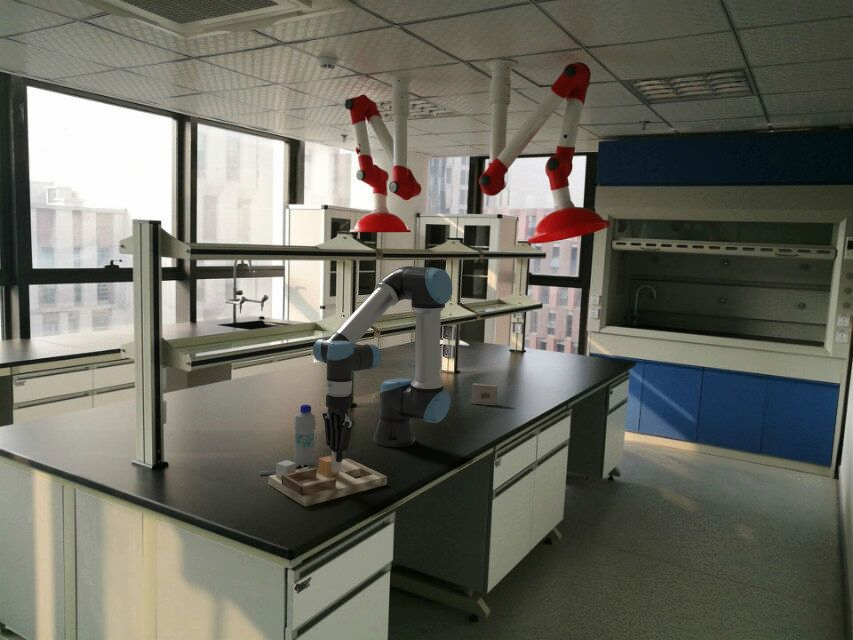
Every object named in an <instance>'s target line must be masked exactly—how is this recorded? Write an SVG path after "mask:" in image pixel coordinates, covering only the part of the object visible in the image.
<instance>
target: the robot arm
mask: <svg viewBox="0 0 853 640" xmlns="http://www.w3.org/2000/svg"><path fill="white" fill-rule="evenodd" d="M452 295H453V282H452V279H451V277H450V274H448V273H447V271H446V270H444V269H441V268H436V267H425V266H423V267H422V266H412V265H407V266H406V265H405V266H402V267H399V268H397V269H395V270H393V271H391V272H390V273H388V274H387V275H385V276H384V277H383V278H382V279H381V280H379V281H378V283H376V284H375V286H374V290H373V292H372V293H371V294H370V295H368V297H367V298H366V299H365V300H364V301H363V302H362V303H361V304H360V305H359V306H358V307H357V308H356V309H355V310H354V312H352V314H350V316H349V317H348V318H346V319H345V321H344V322H342V324H341V325H340V326H339V327H338V328H337V329H336V330H335V331H334V332H333V333H332V334H331V335H330V336H329V338H326V337H325V338H320V339H317V340H316V341H315V343H314V344H313V347H312V355H313V357H314V359H315V360H317V362H321V363H324V364H326V388H325V390H326V391H325V392H326V395H325V407H326V408H327V411H326V412H322V418H323V421H324V422H323V423H324V432H325V442H326V446H327V447H329V450H330V456H331V472H333V473H336V472H340V471H341V465H342V460H343V452H344V451H348V449H349V444H350V440H351V439H350V438H351V433H352V428H353V426H355V422H354V420H351V419H350V413H349V409H350V408H351V407H352V400H353V399H352V396H353V395H352V393H353V373H354V372H360V371H365V370H367V371H368V370H370V369H375V368H376V367H378V366H379V365H380V363H381V362H382V361H381V360H382V353H381V350H380V348H379V347H378V346H377V345H375V344H373V343H371V344H369V343H365V344H359V343H358V342H359V341H360V339H361V338H362V337H363V336H364V335H365V334H366V333H367V332H368V331H369V330H370V329H371V328H372V327H373V325H374V324H375V323H376V322H377V321H378V320H379V319H380V318H381V317H382V316H383V315H384V314H385V313H386V312H387V310H389V308H390V307H393V306H396V305H397V304H398V303H399V302H400V301H404V300H409V301H410V302H411V303H410V306H411V308H412V310H413V311H414V312H415V348H414V349H415V350H414V351H415V352H414V353H415V357H414V358H415V360H414V361H415V364H414V365H415V368H414V369H415V371H414V373H415V375H414V379H412V378H393V379H392V378H390V379H386V380H384V381H382V382H381V385H380V391H379V417H378V418H379V419H378V422H377V425H376V429H375V431H374V434H373V442H374V443H375V444H377V445H379V446H381V447H382V446H383V447H387V448H404V447H410V446H412V445H414V444H415V440H416V436H415V433H414V427H413V425H412V419H415V420H419V421H423V422H426V423H433V424H438V423H440V422H441V421H442V420H444V418H446V416H447V414H448V412H449V410H450V406H451V396H450V393H449V392H448V391H446V390H445V383H444V382H443V381H442V380H441V379H440V377H441V376H440V374H441V373H440V371H441V314H442V311H443V310H444V309H445V308H446V304H447V303H448V302H450V300H451V296H452ZM357 343H358V344H357Z"/></svg>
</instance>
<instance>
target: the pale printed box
mask: <svg viewBox="0 0 853 640" xmlns="http://www.w3.org/2000/svg"><path fill="white" fill-rule="evenodd" d="M470 403H484V404H495V405H497V406H498V385H495V384H485V383H475V382H474V383H472V388H471V401H470Z"/></svg>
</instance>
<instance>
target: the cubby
mask: <svg viewBox="0 0 853 640" xmlns="http://www.w3.org/2000/svg"><path fill="white" fill-rule="evenodd" d="M316 475H317V469H316V468H312V469H308V470H303V471H299V472H294V473H290V474H286V475H282V484H283V485H285V486H286V487H288V488H290V489H291V490H293V491H295V492H296V493H298V494H300V495H301V496H304V495H308V494H312V493H316V492H320V491H324V490H328V489H332V488H335V487H336V479H335V478H332V479H327V480H323V481H319V482H315V483H311V484H307V485H302V484H301V483H299V482H298V481H302V480H306V479H310V478H314V477H316Z"/></svg>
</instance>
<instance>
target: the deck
mask: <svg viewBox="0 0 853 640" xmlns="http://www.w3.org/2000/svg"><path fill="white" fill-rule="evenodd" d="M312 468H316V469H317V475H316V477H314V478H310V479H306V480H302V481H298V482H299V483H301V484H302V485H307V484H311V483H315V482H319V481H323V480H327V479H332V478H335V479H336V487H335V488H332V489H328V490H324V491H320V492H316V493H312V494H308V495H304V496H301V495H300V494H298V493H296V492H295V491H293V490H291V489H290V488H288V487H286V486H285V485H283V484H282V478H279V477H276V475H268V480H267V481H268V485H269V486H271V488H274V489H275V490H277V491H278V492H281V494H283V495H285V496H287V497H288V498H290V499H291V500H292V501H295V502H296V503H298V504H299V505H301V506H302V507H308V506H313V505H315V504H319V503H323V502H326V501H331V500H335V499H338V498H342V497H346V496H349V495H353V494H357V493H361V492H364V491H369V490H371V489H375V488H378V487H382V486H386V485H388V484H387V483H388V476H387V475H385V474H383V473H380V472H378V471H376V470H374V469H372V468H371V467H370V468H369V467H367V466H365V465H363V464H361V463H359V462H356V461H355V460H353V459H350V458H349V457H348V458H342V465H341V471H340V472H339V474H337V475H333V476H329V477H326V476H324V475H322V474H320V473H318V464H315V465H312V466H310V467H307V466H305V467H304V468H302V467H301V468H299V469H296V472H299V471H303V470H308V469H312Z"/></svg>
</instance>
